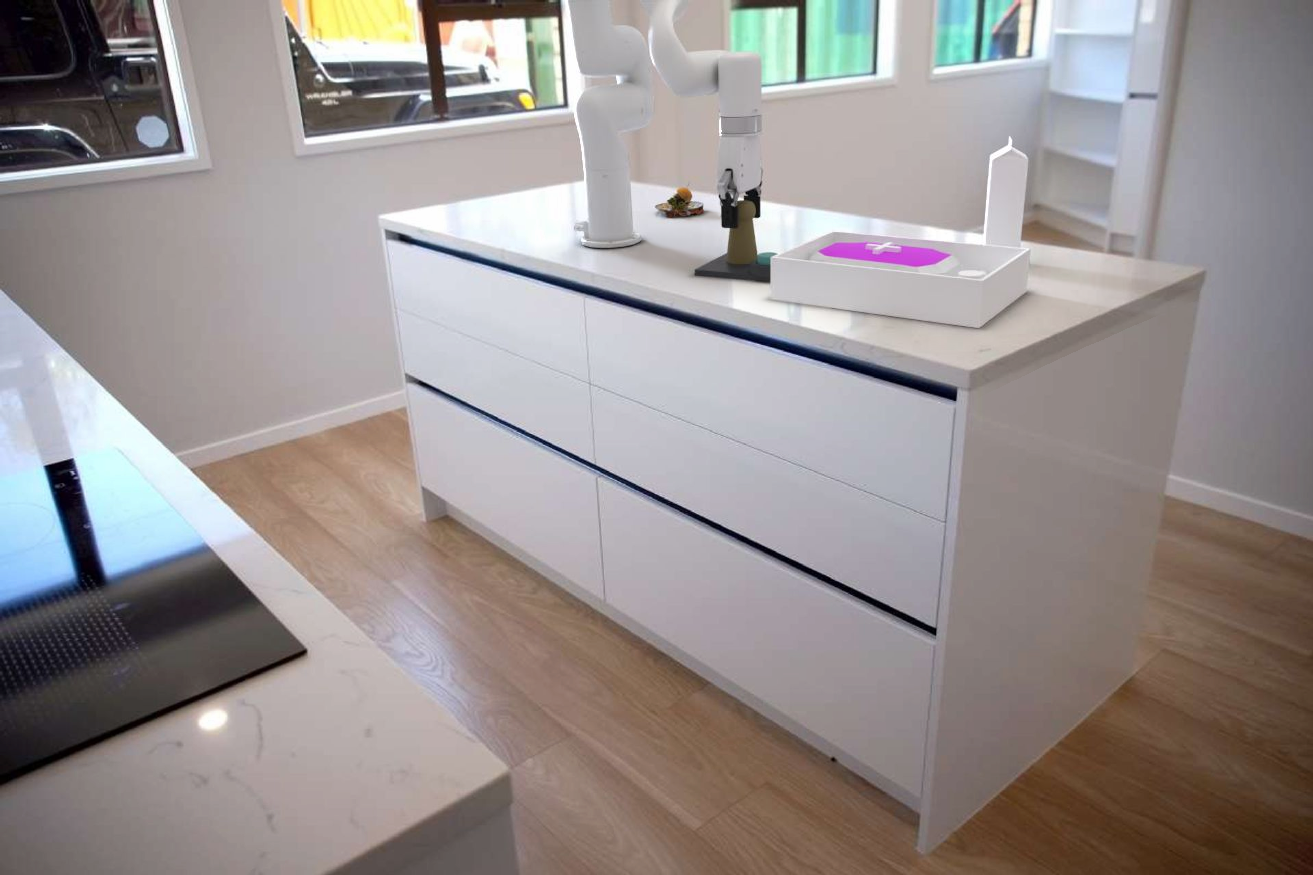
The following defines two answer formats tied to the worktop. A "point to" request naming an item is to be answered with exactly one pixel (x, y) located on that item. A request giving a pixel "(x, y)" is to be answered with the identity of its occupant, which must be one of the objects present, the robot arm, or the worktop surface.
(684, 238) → the worktop surface
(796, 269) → the white tray with pad
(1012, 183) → the milk
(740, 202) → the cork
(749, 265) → the scale
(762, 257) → the button
